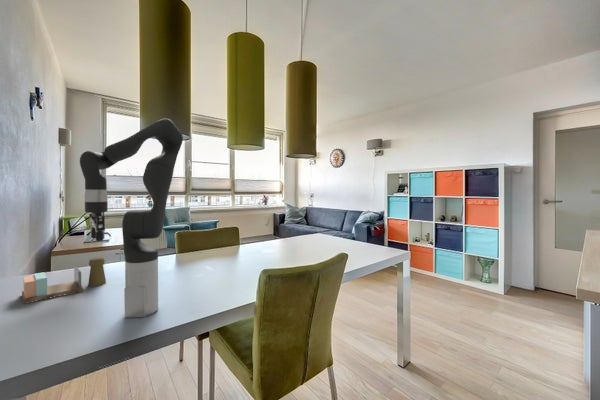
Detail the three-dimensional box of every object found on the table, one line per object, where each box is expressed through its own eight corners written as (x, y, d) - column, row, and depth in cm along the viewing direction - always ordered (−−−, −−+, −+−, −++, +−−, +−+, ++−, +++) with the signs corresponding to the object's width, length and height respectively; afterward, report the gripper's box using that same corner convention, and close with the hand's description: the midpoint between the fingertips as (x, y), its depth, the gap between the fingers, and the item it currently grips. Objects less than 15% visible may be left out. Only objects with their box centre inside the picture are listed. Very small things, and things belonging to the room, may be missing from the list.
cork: (108, 283, 111) (108, 257, 111) (91, 287, 106) (91, 260, 105) (102, 280, 114) (101, 255, 114) (85, 284, 109) (84, 258, 109)
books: (25, 298, 91) (24, 281, 91) (23, 291, 97) (23, 275, 97) (47, 293, 95) (47, 277, 95) (44, 287, 101) (44, 272, 101)
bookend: (78, 287, 102) (78, 272, 102) (74, 281, 108) (74, 267, 108) (81, 286, 103) (81, 271, 102) (77, 281, 109) (76, 266, 108)
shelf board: (23, 304, 90) (23, 299, 90) (22, 295, 98) (22, 291, 98) (83, 291, 102) (83, 287, 102) (77, 284, 110) (77, 280, 110)
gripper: (111, 201, 107) (112, 240, 107) (103, 199, 116) (103, 236, 117) (88, 201, 101) (89, 243, 102) (81, 200, 111) (82, 238, 111)
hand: (97, 239), depth 109 cm, fingers open, 8 cm apart
